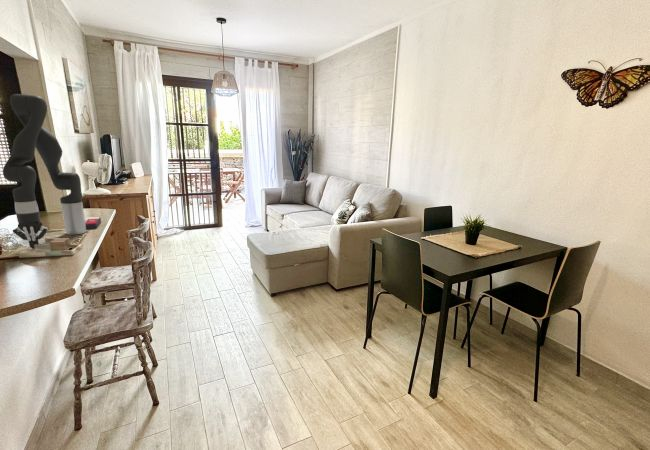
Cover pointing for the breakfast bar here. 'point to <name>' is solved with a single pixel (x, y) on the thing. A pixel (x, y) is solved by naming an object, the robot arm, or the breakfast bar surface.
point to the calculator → (92, 222)
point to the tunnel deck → (49, 250)
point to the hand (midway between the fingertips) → (34, 248)
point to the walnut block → (60, 244)
